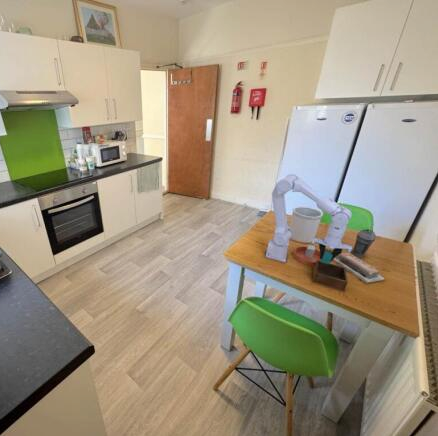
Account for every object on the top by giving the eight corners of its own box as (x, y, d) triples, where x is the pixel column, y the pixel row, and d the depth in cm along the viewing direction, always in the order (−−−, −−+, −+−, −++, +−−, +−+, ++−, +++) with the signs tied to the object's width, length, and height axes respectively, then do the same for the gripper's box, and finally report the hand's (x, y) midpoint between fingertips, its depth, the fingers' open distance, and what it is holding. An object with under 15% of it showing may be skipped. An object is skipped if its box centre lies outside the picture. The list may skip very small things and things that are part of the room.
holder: (312, 282, 110) (316, 273, 107) (313, 268, 118) (316, 259, 116) (343, 291, 104) (347, 282, 102) (341, 276, 113) (345, 267, 110)
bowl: (291, 261, 124) (293, 256, 122) (293, 248, 134) (295, 243, 133) (324, 270, 117) (326, 265, 116) (324, 255, 127) (325, 251, 126)
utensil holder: (287, 240, 141) (294, 214, 133) (285, 229, 153) (291, 204, 145) (316, 245, 136) (326, 218, 128) (311, 233, 148) (320, 207, 140)
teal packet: (320, 262, 111) (324, 253, 109) (320, 257, 114) (323, 248, 112) (329, 264, 109) (332, 255, 107) (328, 259, 113) (332, 250, 111)
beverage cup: (363, 253, 128) (379, 220, 119) (368, 260, 122) (385, 227, 113) (347, 250, 131) (361, 218, 122) (350, 257, 125) (365, 224, 116)
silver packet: (305, 256, 127) (307, 248, 124) (305, 252, 130) (307, 244, 128) (312, 258, 125) (314, 250, 123) (312, 253, 128) (315, 246, 126)
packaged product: (334, 252, 121) (350, 250, 123) (331, 260, 124) (347, 257, 125) (370, 275, 106) (388, 272, 107) (366, 284, 108) (383, 280, 110)
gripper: (315, 234, 106) (307, 259, 112) (356, 243, 99) (345, 268, 105) (315, 227, 111) (307, 251, 117) (354, 235, 104) (344, 260, 110)
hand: (325, 259), depth 111 cm, fingers closed on teal packet, 3 cm apart
